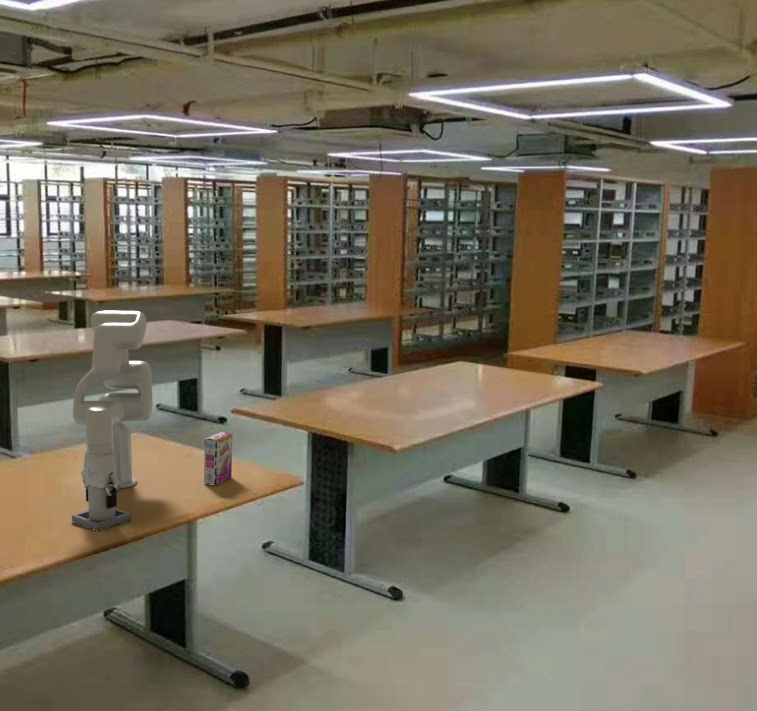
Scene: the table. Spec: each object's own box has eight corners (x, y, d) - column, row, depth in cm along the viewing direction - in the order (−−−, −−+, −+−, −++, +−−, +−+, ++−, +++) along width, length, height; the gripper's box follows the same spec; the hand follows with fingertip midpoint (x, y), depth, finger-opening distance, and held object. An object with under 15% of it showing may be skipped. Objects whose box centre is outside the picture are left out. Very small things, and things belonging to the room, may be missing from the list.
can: (120, 519, 250) (119, 480, 248) (97, 525, 244) (96, 485, 242) (106, 512, 255) (105, 475, 253) (84, 518, 249) (82, 480, 247)
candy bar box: (216, 486, 285) (216, 440, 282) (203, 484, 287) (203, 438, 284) (232, 477, 295) (232, 432, 293) (220, 475, 297) (220, 431, 295)
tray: (72, 522, 248) (71, 515, 247) (105, 511, 257) (105, 504, 257) (97, 531, 241) (97, 524, 241) (131, 520, 251) (131, 513, 250)
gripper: (70, 445, 248) (72, 501, 250) (108, 456, 238) (109, 513, 241) (92, 440, 254) (93, 494, 256) (129, 450, 244) (130, 506, 247)
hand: (101, 503), depth 248 cm, fingers open, 9 cm apart
